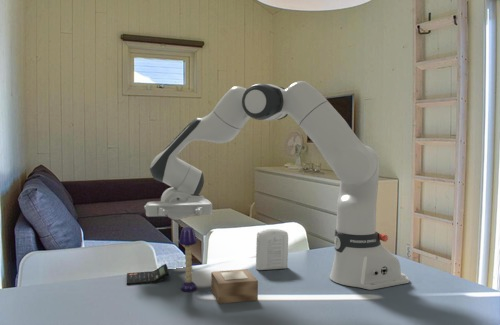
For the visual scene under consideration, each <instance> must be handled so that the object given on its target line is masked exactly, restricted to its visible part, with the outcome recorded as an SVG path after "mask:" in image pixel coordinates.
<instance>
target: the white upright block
mask: <svg viewBox="0 0 500 325" xmlns="http://www.w3.org/2000/svg"><path fill="white" fill-rule="evenodd" d="M255 247H256V251H255V252H256V253H255V269H256V270H258V271H265V270H281V269H288V260H289V259H288V257H289V234H288V231H286V230H283V229H280V228H269V229H264V230H261V231H259V232H258V231H257V234H256V246H255Z"/></svg>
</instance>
